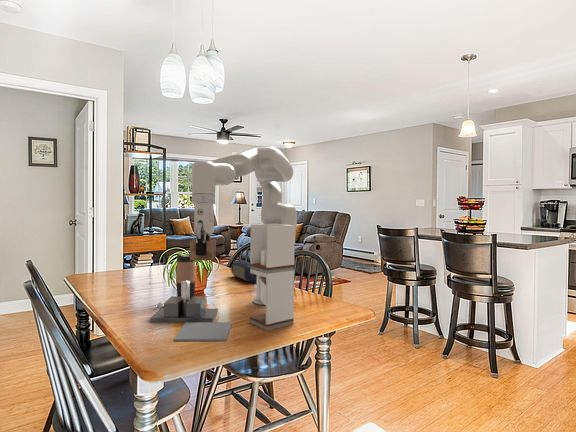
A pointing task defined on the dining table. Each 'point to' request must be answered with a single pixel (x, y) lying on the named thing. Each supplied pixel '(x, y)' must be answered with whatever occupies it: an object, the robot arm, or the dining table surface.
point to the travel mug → (185, 273)
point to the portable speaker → (243, 271)
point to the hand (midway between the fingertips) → (203, 253)
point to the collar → (209, 250)
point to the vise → (184, 308)
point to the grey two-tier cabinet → (274, 273)
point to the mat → (204, 331)
